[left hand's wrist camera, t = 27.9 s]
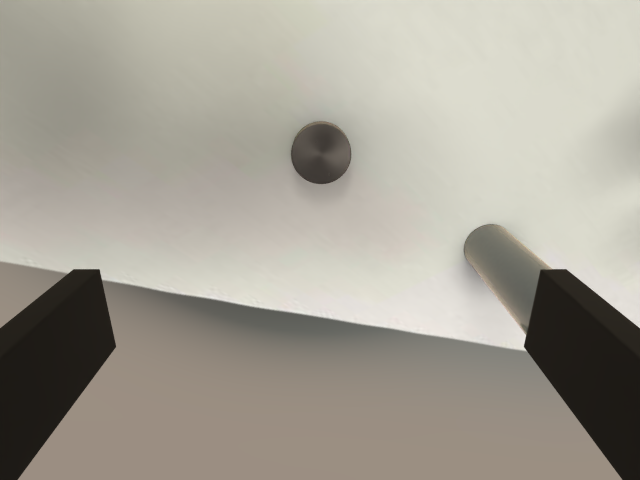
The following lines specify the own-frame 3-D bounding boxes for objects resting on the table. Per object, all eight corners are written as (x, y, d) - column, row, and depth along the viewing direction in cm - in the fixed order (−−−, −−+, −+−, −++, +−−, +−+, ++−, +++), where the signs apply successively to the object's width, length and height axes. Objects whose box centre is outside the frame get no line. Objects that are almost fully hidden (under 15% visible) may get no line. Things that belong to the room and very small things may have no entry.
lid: (280, 150, 40) (278, 154, 38) (321, 108, 38) (321, 110, 36) (321, 190, 41) (321, 195, 39) (361, 150, 40) (363, 154, 38)
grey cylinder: (511, 220, 42) (638, 319, 25) (512, 263, 44) (632, 383, 27) (462, 228, 43) (556, 332, 26) (465, 271, 44) (554, 394, 27)
